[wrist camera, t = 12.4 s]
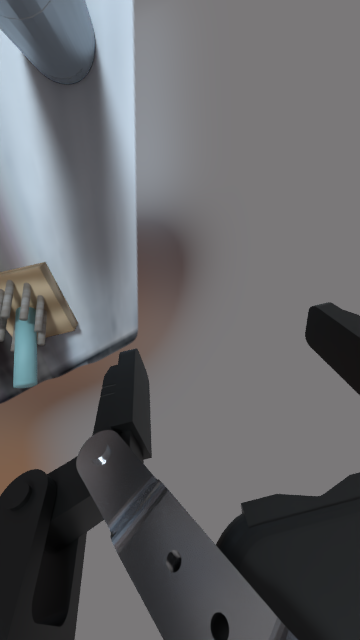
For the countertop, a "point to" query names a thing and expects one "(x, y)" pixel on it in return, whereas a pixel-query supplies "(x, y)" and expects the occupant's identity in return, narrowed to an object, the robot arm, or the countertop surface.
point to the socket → (34, 302)
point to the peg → (25, 351)
